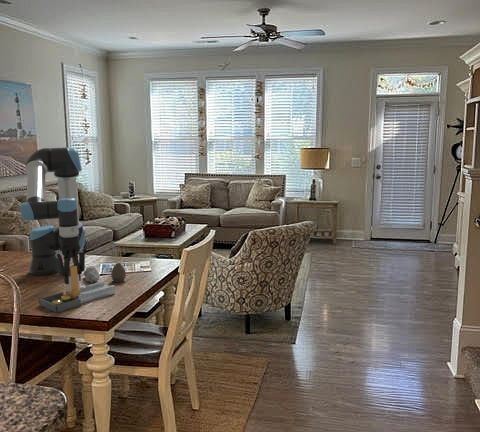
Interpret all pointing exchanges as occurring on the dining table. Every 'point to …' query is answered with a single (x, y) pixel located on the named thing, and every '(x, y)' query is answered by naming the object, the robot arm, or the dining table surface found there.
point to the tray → (65, 306)
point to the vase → (118, 273)
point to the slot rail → (94, 292)
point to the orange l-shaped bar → (74, 281)
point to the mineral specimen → (91, 274)
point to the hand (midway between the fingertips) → (73, 289)
